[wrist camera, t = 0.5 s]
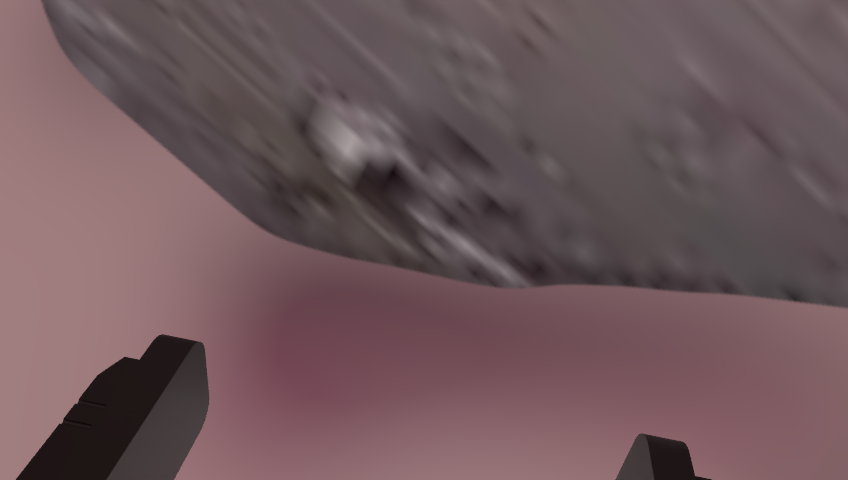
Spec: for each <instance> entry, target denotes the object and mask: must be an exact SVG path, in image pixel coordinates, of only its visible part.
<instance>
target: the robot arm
mask: <svg viewBox="0 0 848 480" xmlns="http://www.w3.org/2000/svg"><path fill="white" fill-rule="evenodd" d="M208 405H209V390H208V379H207V368H206V357H205V348H204V345H203V343H201V342H197V341H193V340H188V339H183V338H178V337H173V336H168V335H159V336H158V337H156V339H155V340H154V341H153V342H152V343H151V345H150V346H149V347H148V349H147V350H146V352H145V353H144V354H143V356H142V357H141V359H140V360H137V359H133V358H128V357H124V358H122V359H121V360H119V361H118V362H116V363H115V364H114V365H112V366H110V367H109V368H108V369H106V370H105V371H103V372H102V373H100V374H99V375H97V377H96V378H95V379H94V380H93V382H92V383H91V384H90V385H89V387H88V388H87V389H86V391H85V392H84V393H83V394H82V396H81V397H80V398H79V402H78V404H75V405H74V406H73V407H72V408H71V410H70V411H69V413H68V414H67V415H66V416H65V417H64V420H63V423H62V424H59V425H58V426H57V428H56V429H55V430H54V432H53V433H52V434H51V435H50V437H49V438H48V439H47V440H46V442H45V443H44V444H43V445H42V447H41V448H40V449H39V451H38V452H37V453H36V455H35V456H34V457H33V458H32V460H31V461H30V462H29V464H28V465H27V466H26V467H25V468H24V470H23V471H22V472H21V474H20V475H19V476H18V478H17V479H16V480H174V478H175V477H176V475H177V473H178V471H179V469H180V467H181V465H182V463H183V462H184V460H185V458H186V456H187V455H188V453H189V451H190V449H191V447H192V446H193V444H194V442H195V440H196V438H197V436H198V434H199V433H200V431H201V429H202V426H203V424H204V421H205V418H206V414H207V411H208ZM616 480H711V479H706V478H702V477H697V476H695V474H694V470H693V466H692V462H691V457H690V453H689V450H688V447H687V446H686V444H685V443H684V442H681V441H676V440H670V439H666V438H661V437H656V436H652V435H646V434H639V435H638V436H637V438H636V439H635V441H634V443H633V445H632V447H631V449H630V451H629V453H628V455H627V457H626V459H625V461H624V463H623V466H622V468H621V470H620V472H619V474H618V476H617V478H616Z"/></svg>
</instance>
